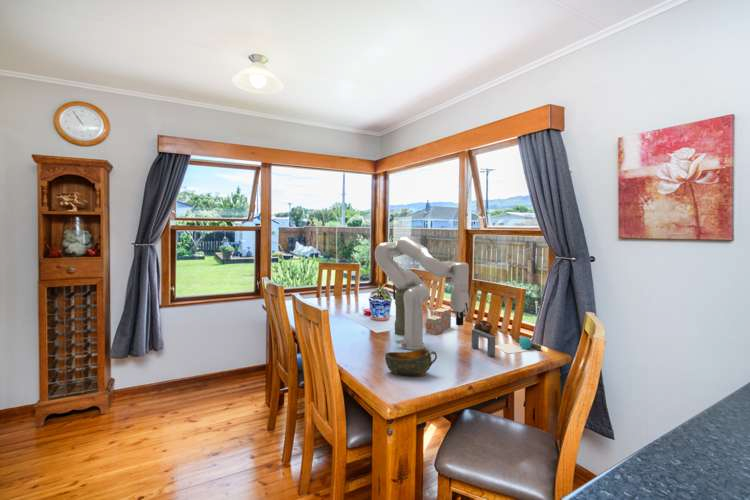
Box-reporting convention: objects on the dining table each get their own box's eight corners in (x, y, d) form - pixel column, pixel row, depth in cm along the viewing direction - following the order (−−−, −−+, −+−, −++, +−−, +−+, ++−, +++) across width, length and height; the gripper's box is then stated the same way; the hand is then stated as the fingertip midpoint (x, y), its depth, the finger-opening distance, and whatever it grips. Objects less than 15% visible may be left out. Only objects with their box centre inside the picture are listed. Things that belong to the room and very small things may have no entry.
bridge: (489, 357, 179) (490, 337, 179) (471, 347, 194) (471, 329, 193) (494, 356, 181) (495, 336, 180) (476, 347, 195) (476, 329, 194)
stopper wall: (538, 350, 189) (538, 346, 189) (515, 342, 204) (516, 337, 204) (541, 350, 190) (541, 345, 190) (518, 341, 205) (519, 337, 205)
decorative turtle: (469, 335, 218) (469, 321, 218) (480, 331, 229) (480, 318, 229) (485, 337, 211) (485, 323, 212) (496, 333, 223) (496, 320, 223)
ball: (522, 344, 188) (531, 337, 190) (514, 340, 194) (523, 333, 195) (527, 353, 190) (535, 346, 191) (519, 348, 196) (527, 342, 197)
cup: (424, 384, 147) (425, 359, 147) (382, 373, 158) (382, 350, 158) (438, 374, 158) (438, 350, 158) (397, 365, 169) (397, 343, 169)
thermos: (409, 336, 214) (410, 276, 212) (390, 333, 219) (390, 275, 217) (413, 332, 222) (414, 274, 221) (395, 330, 227) (396, 273, 225)
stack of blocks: (435, 335, 217) (435, 314, 217) (425, 333, 221) (425, 313, 221) (450, 327, 235) (451, 308, 234) (441, 326, 238) (442, 307, 238)
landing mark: (508, 353, 185) (508, 353, 185) (491, 346, 197) (491, 345, 197) (529, 351, 189) (529, 350, 189) (511, 343, 201) (511, 343, 201)
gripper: (445, 286, 186) (444, 322, 187) (462, 290, 172) (461, 329, 173) (458, 285, 189) (457, 320, 190) (476, 289, 175) (475, 328, 176)
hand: (459, 324), depth 181 cm, fingers closed
